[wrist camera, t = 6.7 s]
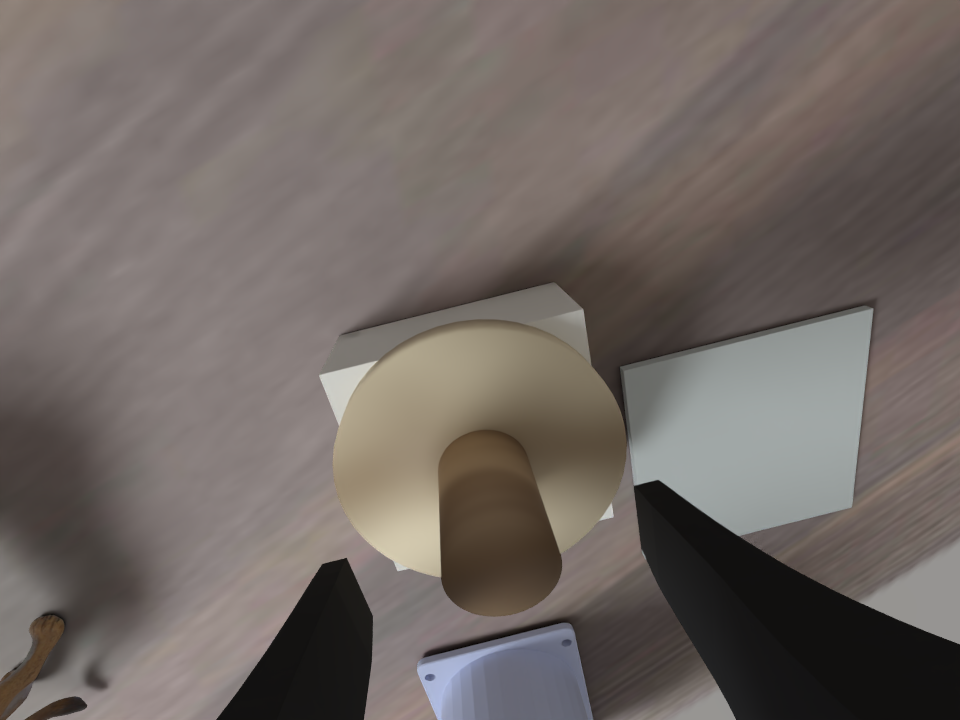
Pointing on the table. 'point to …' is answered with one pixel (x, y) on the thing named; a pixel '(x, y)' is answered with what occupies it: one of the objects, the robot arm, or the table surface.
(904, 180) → the table surface
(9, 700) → the lion figurine
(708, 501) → the mat
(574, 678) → the robot arm
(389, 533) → the lid
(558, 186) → the table surface
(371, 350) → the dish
